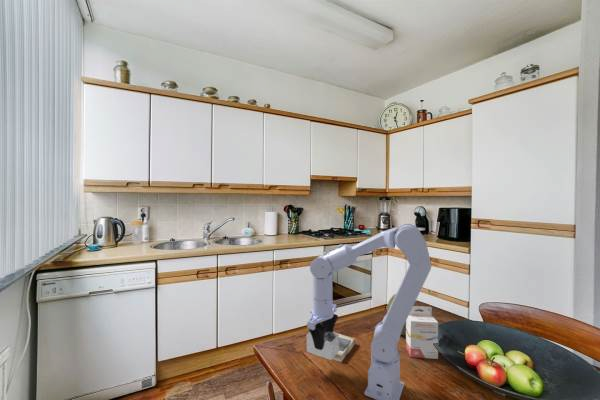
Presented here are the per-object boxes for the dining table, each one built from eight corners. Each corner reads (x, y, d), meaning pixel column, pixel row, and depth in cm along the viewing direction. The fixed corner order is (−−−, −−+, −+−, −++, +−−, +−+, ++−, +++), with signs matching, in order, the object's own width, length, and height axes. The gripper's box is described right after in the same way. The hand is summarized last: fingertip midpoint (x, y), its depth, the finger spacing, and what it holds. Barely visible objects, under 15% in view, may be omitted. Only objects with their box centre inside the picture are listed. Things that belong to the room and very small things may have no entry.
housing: (331, 360, 71) (331, 339, 71) (306, 351, 75) (306, 331, 75) (338, 351, 75) (338, 331, 75) (315, 343, 79) (314, 324, 79)
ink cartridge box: (410, 358, 81) (410, 311, 81) (405, 349, 86) (405, 305, 86) (439, 359, 80) (438, 312, 81) (432, 350, 85) (431, 306, 85)
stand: (341, 362, 79) (340, 354, 79) (310, 351, 85) (310, 344, 85) (354, 344, 89) (354, 337, 89) (326, 335, 95) (326, 329, 95)
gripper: (322, 287, 83) (322, 330, 83) (297, 302, 71) (298, 352, 71) (342, 291, 79) (342, 335, 79) (320, 308, 67) (320, 360, 67)
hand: (323, 344), depth 75 cm, fingers closed on housing, 5 cm apart
